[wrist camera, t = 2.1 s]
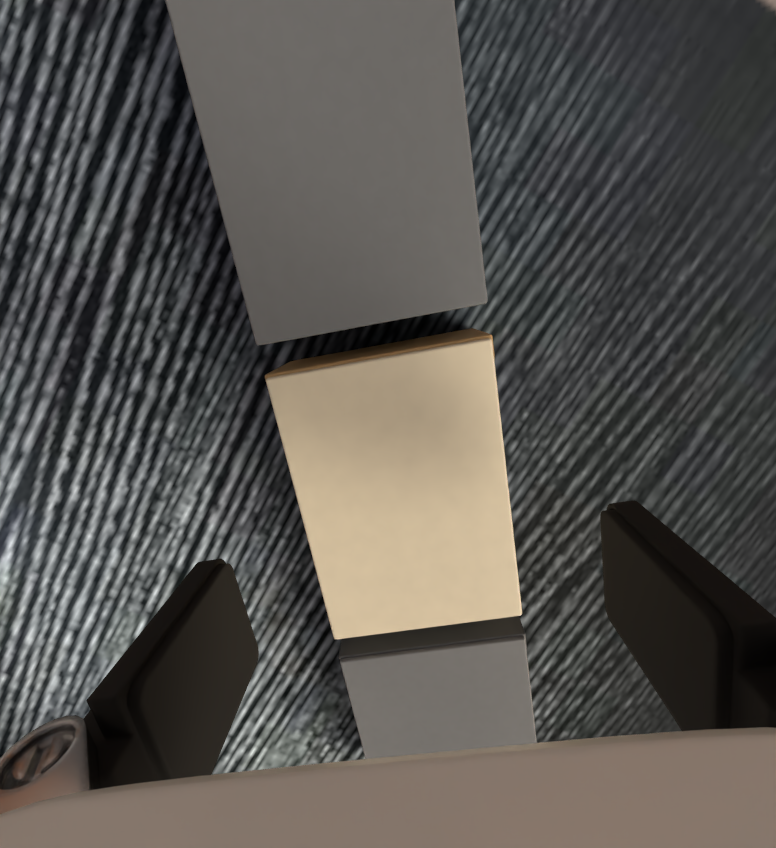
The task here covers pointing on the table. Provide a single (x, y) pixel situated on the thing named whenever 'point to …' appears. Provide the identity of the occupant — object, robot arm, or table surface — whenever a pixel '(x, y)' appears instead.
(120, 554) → the table surface
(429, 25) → the grey book
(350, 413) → the cream book
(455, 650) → the grey book
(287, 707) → the table surface
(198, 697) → the robot arm
